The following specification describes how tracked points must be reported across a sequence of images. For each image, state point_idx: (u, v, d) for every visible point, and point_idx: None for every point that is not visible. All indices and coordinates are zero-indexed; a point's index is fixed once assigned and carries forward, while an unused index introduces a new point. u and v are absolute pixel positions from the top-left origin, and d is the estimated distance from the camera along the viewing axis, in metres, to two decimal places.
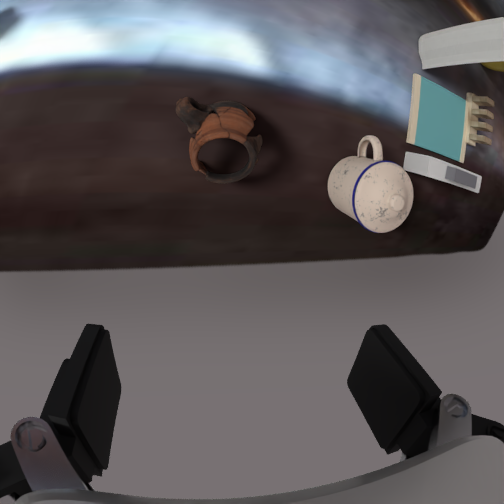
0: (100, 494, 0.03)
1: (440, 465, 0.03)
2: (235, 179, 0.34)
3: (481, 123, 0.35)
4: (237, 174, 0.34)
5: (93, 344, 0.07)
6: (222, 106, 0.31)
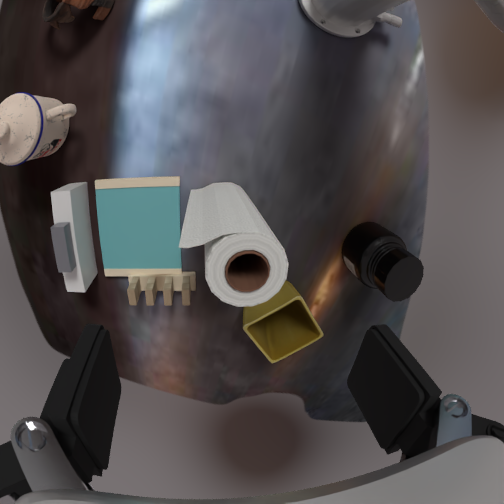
0: (100, 494, 0.03)
1: (440, 465, 0.03)
2: (43, 15, 0.21)
3: (151, 286, 0.39)
4: (46, 15, 0.21)
5: (93, 344, 0.07)
6: None
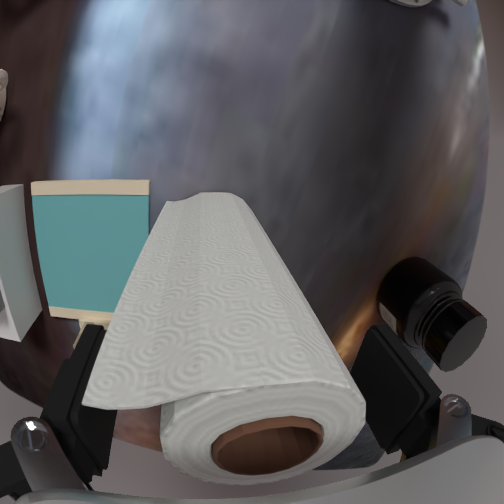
0: (100, 494, 0.03)
1: (440, 465, 0.03)
2: None
3: None
4: None
5: (93, 344, 0.07)
6: None
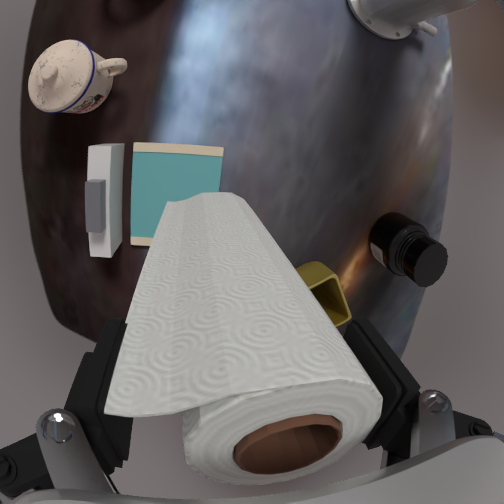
0: (100, 494, 0.03)
1: (440, 465, 0.03)
2: None
3: None
4: None
5: (116, 336, 0.08)
6: None
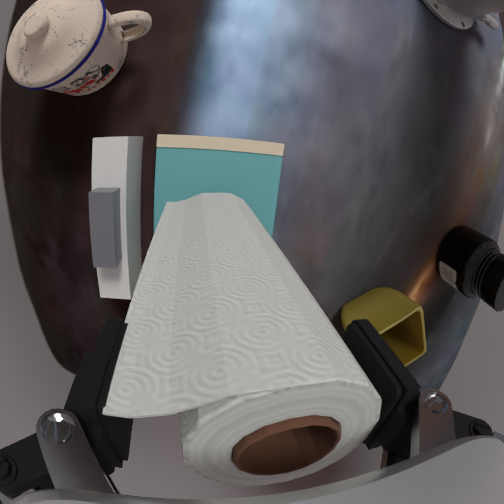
0: (100, 494, 0.03)
1: (440, 465, 0.03)
2: None
3: None
4: None
5: (116, 336, 0.08)
6: None
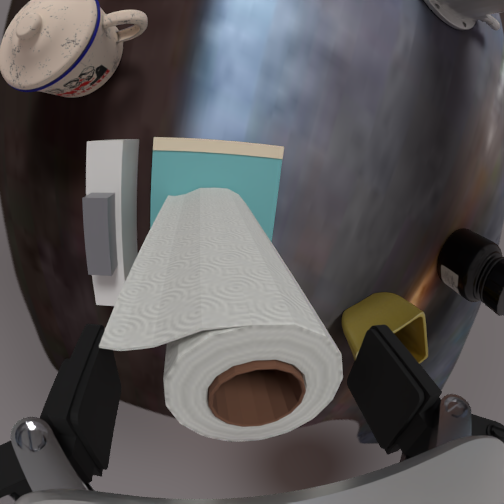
0: (100, 494, 0.03)
1: (440, 465, 0.03)
2: None
3: None
4: None
5: (93, 344, 0.07)
6: None
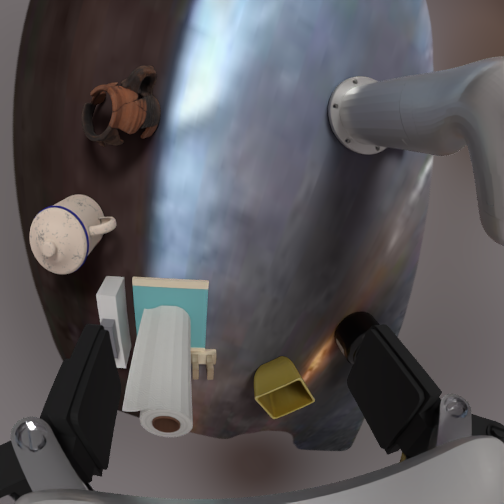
0: (100, 494, 0.03)
1: (440, 465, 0.03)
2: (84, 128, 0.31)
3: None
4: (88, 129, 0.31)
5: (93, 344, 0.07)
6: (147, 104, 0.32)
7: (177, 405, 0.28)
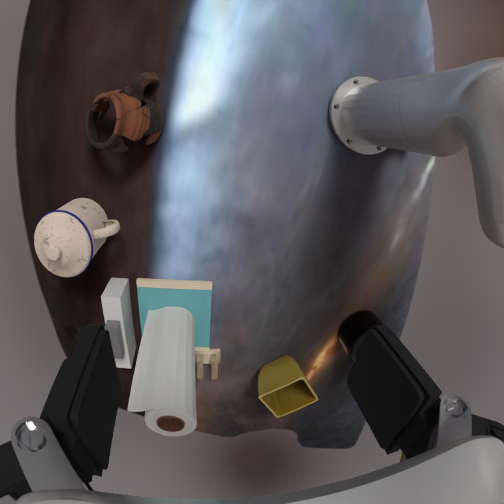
0: (100, 494, 0.03)
1: (440, 465, 0.03)
2: (88, 135, 0.32)
3: None
4: (92, 136, 0.32)
5: (93, 344, 0.07)
6: (150, 111, 0.32)
7: (181, 405, 0.29)
